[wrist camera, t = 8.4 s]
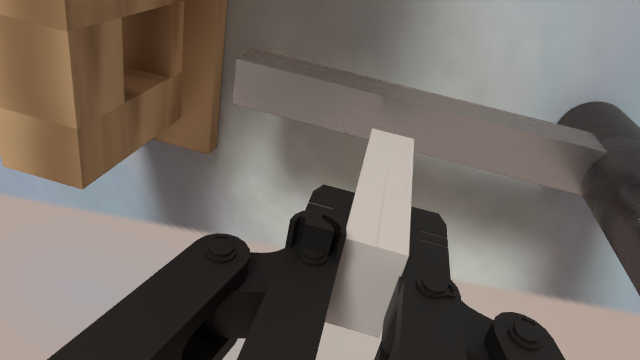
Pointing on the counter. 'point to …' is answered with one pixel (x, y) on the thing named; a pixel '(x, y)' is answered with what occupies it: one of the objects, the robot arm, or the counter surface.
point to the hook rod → (468, 135)
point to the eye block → (106, 81)
